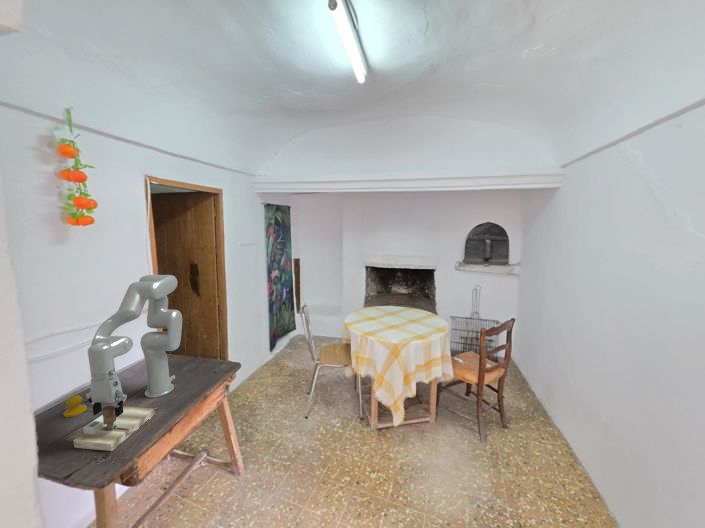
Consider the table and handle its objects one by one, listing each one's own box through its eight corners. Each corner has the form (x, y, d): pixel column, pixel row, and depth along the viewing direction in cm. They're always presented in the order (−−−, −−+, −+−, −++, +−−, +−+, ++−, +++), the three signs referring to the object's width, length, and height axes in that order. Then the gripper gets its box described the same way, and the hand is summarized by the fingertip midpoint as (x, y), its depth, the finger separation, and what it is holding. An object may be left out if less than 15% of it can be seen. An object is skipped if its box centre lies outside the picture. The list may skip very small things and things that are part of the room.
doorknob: (78, 405, 146) (91, 408, 144) (59, 415, 138) (72, 418, 136) (76, 390, 145) (89, 393, 143) (56, 400, 137) (69, 403, 135)
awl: (111, 430, 128) (108, 404, 126) (119, 431, 128) (117, 405, 126) (102, 437, 124) (99, 410, 122) (111, 438, 124) (108, 411, 122)
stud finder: (102, 420, 130) (101, 415, 130) (112, 421, 130) (111, 415, 129) (84, 433, 122) (83, 427, 122) (94, 434, 122) (93, 428, 121)
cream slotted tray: (122, 412, 140) (122, 406, 140) (154, 414, 139) (154, 408, 138) (74, 447, 119) (73, 440, 118) (111, 450, 117) (110, 443, 117)
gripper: (131, 370, 125) (135, 409, 127) (92, 368, 127) (98, 406, 129) (114, 380, 117) (120, 421, 120) (74, 378, 119) (80, 418, 122)
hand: (108, 413), depth 124 cm, fingers open, 9 cm apart
